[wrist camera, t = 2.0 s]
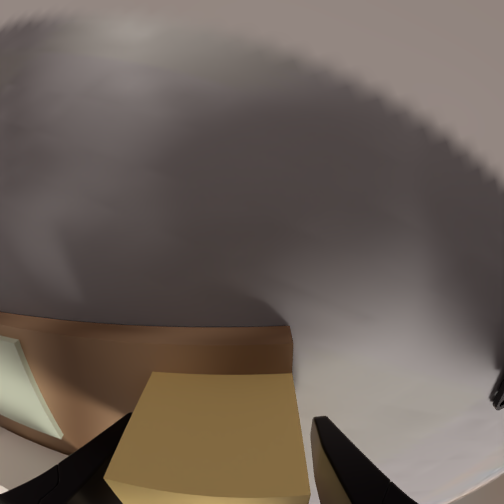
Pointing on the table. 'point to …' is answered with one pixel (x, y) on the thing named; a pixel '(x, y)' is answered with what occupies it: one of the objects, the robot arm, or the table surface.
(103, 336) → the board
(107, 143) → the table surface
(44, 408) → the thin mint green panel
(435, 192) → the table surface
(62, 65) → the table surface
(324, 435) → the robot arm
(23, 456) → the cover
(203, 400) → the block
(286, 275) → the table surface
